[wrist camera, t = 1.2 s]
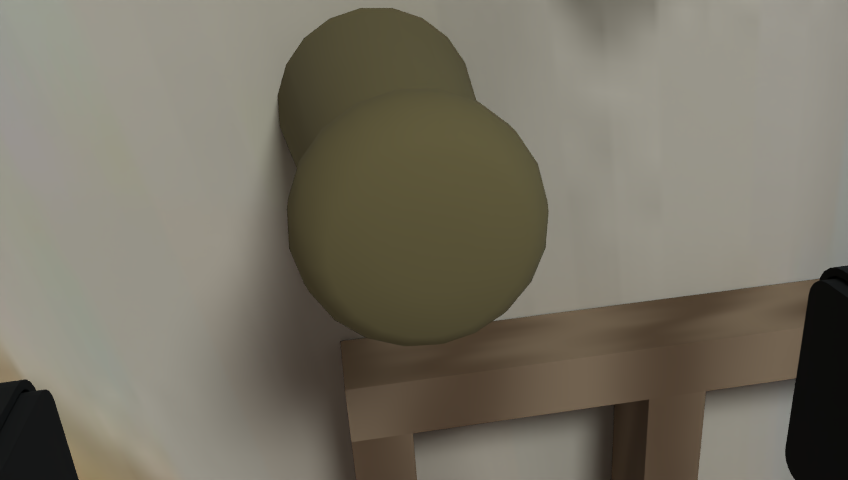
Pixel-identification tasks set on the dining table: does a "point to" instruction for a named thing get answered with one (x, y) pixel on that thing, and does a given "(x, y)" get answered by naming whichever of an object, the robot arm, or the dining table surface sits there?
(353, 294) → the olive tall rounded piece
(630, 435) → the caddy
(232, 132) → the dining table surface
